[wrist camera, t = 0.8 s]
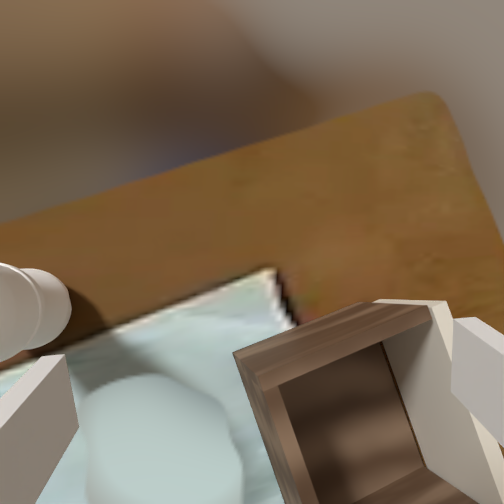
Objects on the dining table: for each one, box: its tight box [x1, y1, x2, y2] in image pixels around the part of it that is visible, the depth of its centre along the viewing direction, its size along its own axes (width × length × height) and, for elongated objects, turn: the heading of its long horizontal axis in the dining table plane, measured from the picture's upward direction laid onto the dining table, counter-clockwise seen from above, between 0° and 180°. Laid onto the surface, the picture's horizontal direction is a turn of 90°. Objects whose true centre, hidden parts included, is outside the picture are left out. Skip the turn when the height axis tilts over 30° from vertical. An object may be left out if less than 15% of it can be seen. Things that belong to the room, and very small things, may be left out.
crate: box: [232, 302, 479, 504], centre depth 38 cm, size 20×15×12 cm
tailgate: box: [372, 299, 504, 504], centre depth 39 cm, size 19×2×11 cm, turn 20°
